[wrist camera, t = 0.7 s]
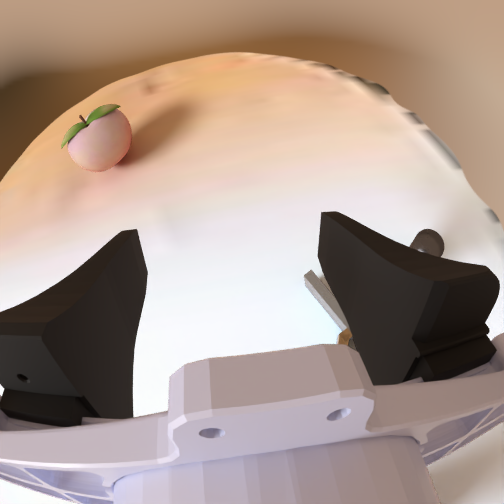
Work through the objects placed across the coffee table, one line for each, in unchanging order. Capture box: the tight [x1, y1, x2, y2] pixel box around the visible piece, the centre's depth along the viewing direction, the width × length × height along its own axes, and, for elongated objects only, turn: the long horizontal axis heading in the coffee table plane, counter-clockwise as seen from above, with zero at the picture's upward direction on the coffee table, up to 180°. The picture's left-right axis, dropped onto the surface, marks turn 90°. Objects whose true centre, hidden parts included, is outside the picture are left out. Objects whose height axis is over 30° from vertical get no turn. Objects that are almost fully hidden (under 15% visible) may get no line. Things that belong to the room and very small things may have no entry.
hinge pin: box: [410, 229, 444, 257], centre depth 24 cm, size 2×2×8 cm
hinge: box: [304, 270, 352, 346], centre depth 24 cm, size 17×6×4 cm, turn 36°
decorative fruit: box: [61, 104, 132, 172], centre depth 36 cm, size 9×8×10 cm
